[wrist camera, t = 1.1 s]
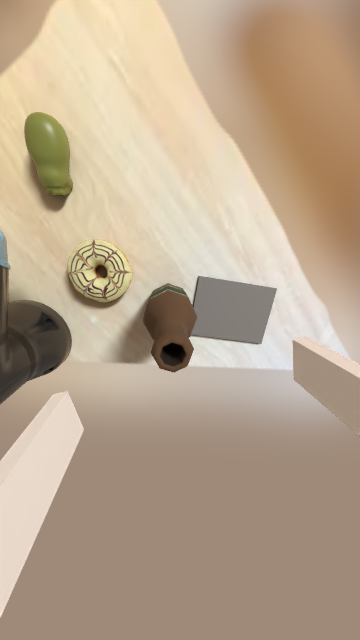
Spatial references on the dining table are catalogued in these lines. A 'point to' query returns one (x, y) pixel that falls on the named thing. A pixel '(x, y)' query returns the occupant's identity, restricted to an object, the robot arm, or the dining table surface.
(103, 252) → the decorated donut
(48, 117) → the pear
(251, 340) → the mat
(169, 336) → the beer bottle
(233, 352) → the dining table surface
